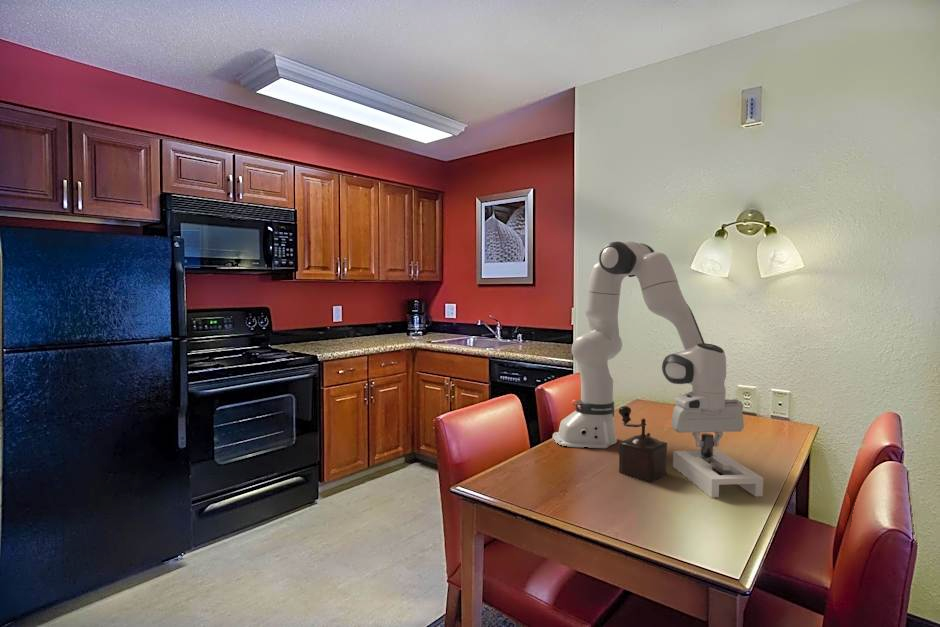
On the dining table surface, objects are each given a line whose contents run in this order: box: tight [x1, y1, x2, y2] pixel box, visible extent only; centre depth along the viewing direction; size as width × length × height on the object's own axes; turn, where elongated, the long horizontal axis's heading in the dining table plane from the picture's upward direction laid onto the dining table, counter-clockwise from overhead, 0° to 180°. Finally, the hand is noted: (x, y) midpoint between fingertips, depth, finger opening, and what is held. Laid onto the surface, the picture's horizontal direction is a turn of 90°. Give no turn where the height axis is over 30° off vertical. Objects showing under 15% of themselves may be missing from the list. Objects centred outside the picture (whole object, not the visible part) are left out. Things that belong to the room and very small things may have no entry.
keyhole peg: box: [700, 432, 717, 473], centre depth 149 cm, size 5×5×12 cm
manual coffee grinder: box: [618, 405, 668, 483], centre depth 152 cm, size 16×11×18 cm
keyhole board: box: [672, 449, 764, 499], centre depth 145 cm, size 14×22×5 cm, turn 3°
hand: (706, 446), depth 149 cm, fingers closed on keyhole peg, 3 cm apart
